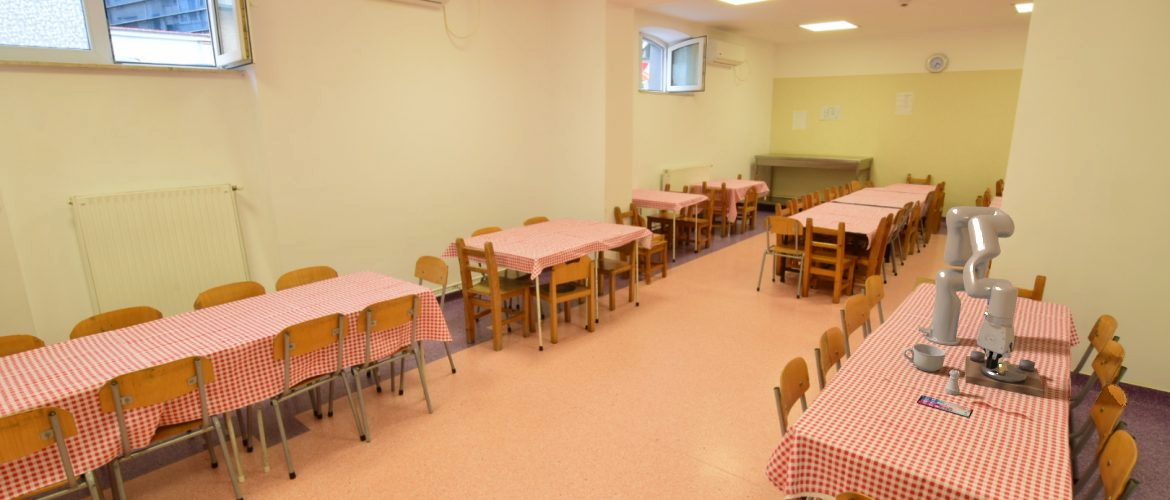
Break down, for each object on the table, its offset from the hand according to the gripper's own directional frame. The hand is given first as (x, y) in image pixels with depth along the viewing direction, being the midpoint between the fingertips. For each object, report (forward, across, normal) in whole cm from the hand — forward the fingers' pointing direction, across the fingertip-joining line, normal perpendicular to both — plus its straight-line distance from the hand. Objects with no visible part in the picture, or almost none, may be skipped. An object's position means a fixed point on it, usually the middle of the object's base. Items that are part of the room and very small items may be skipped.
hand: (991, 368), depth 203 cm
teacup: (+6, -18, -11) cm, 22 cm away
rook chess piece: (+6, +1, -19) cm, 20 cm away
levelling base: (+6, -1, +8) cm, 10 cm away
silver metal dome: (+3, +1, +5) cm, 6 cm away
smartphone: (+6, +8, -31) cm, 32 cm away
